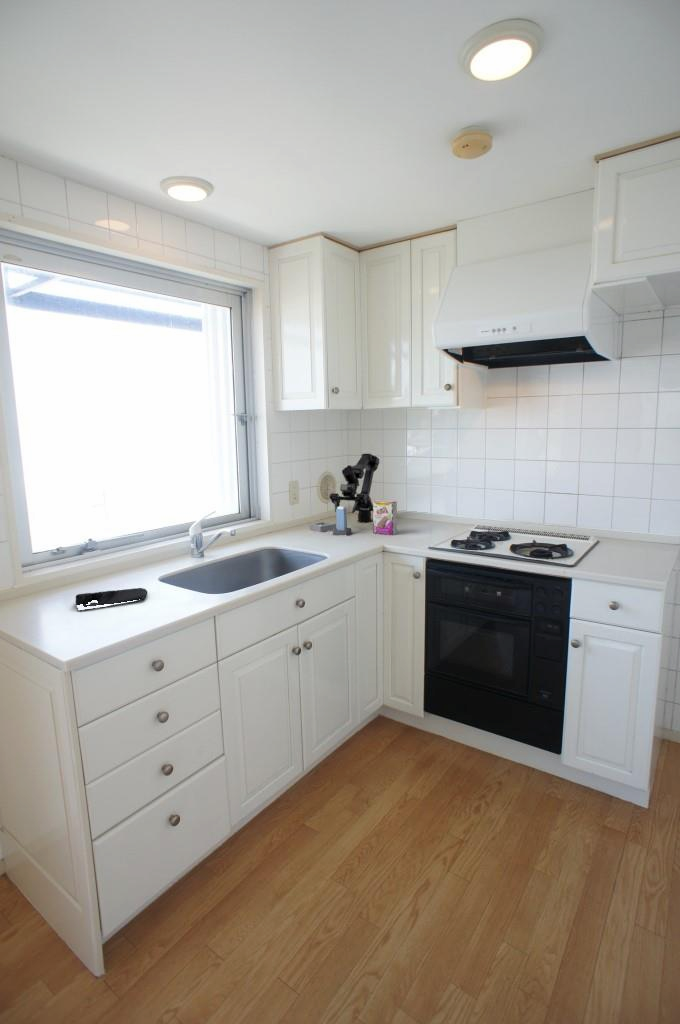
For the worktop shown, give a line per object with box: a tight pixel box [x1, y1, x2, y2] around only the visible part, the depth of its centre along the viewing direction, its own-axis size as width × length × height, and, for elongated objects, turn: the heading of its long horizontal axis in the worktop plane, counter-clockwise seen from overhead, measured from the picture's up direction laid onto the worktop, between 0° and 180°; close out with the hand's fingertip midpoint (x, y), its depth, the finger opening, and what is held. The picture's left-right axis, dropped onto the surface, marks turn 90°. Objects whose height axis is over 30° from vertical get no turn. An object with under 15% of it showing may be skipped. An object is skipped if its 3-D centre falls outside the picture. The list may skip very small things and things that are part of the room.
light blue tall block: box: [335, 505, 348, 530], centre depth 267 cm, size 4×4×14 cm
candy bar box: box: [372, 499, 398, 536], centre depth 264 cm, size 11×5×16 cm, turn 58°
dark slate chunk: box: [75, 587, 148, 607], centre depth 178 cm, size 15×22×5 cm
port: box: [308, 520, 337, 533], centre depth 280 cm, size 10×10×4 cm
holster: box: [332, 527, 352, 536], centre depth 268 cm, size 7×7×2 cm
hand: (344, 512), depth 269 cm, fingers open, 9 cm apart
